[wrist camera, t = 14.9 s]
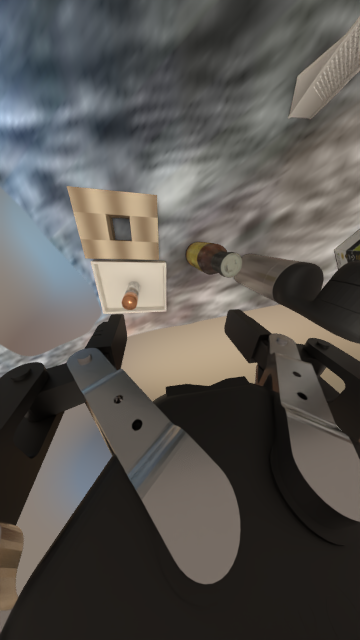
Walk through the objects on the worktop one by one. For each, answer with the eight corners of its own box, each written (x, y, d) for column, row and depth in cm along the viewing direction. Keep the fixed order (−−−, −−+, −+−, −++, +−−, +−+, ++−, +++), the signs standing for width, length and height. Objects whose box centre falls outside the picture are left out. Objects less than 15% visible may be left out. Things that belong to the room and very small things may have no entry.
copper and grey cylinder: (139, 281, 41) (136, 296, 31) (140, 292, 43) (137, 309, 32) (127, 281, 40) (120, 296, 30) (129, 292, 42) (122, 310, 32)
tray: (164, 261, 41) (166, 262, 38) (165, 306, 47) (166, 311, 44) (95, 259, 37) (90, 261, 34) (106, 308, 44) (103, 313, 41)
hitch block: (155, 201, 34) (156, 195, 29) (157, 257, 40) (158, 259, 35) (80, 194, 31) (66, 186, 26) (94, 255, 37) (85, 258, 32)
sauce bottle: (183, 264, 42) (206, 282, 25) (187, 240, 39) (215, 242, 22) (204, 266, 43) (240, 285, 26) (209, 243, 40) (252, 248, 24)
